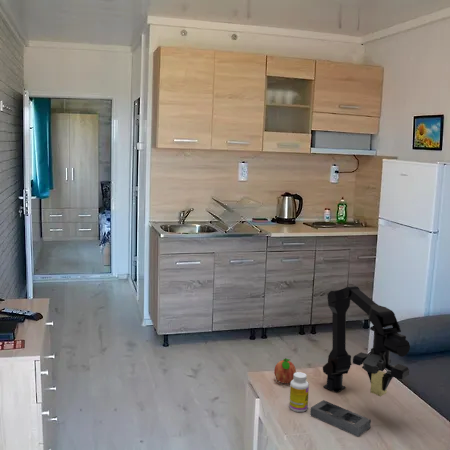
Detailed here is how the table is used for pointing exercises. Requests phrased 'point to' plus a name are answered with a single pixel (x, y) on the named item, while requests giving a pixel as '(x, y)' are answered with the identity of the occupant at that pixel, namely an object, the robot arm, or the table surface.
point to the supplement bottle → (299, 392)
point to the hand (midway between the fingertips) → (378, 388)
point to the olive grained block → (377, 383)
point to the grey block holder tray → (340, 418)
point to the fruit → (284, 371)
